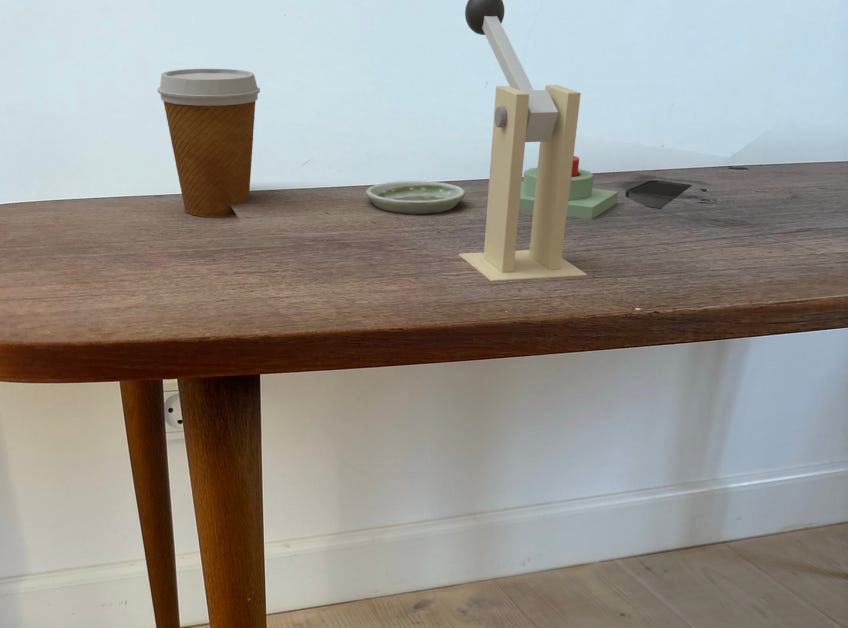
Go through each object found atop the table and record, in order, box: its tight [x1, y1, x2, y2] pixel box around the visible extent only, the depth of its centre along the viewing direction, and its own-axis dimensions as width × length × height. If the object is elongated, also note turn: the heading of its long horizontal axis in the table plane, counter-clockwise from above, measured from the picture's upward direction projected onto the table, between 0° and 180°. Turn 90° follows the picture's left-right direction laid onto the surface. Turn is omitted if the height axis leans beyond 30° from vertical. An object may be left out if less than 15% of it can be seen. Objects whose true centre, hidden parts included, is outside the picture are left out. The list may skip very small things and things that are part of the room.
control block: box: [519, 167, 619, 220], centre depth 103 cm, size 10×8×4 cm
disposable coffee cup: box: [157, 68, 261, 218], centre depth 101 cm, size 10×10×12 cm
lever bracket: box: [458, 84, 588, 283], centre depth 82 cm, size 8×8×14 cm
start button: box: [571, 155, 580, 177], centre depth 102 cm, size 4×4×2 cm
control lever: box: [464, 0, 558, 143], centre depth 82 cm, size 17×3×3 cm, turn 14°
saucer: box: [365, 180, 466, 215], centre depth 103 cm, size 10×10×2 cm
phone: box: [624, 179, 693, 209], centre depth 108 cm, size 8×1×15 cm
